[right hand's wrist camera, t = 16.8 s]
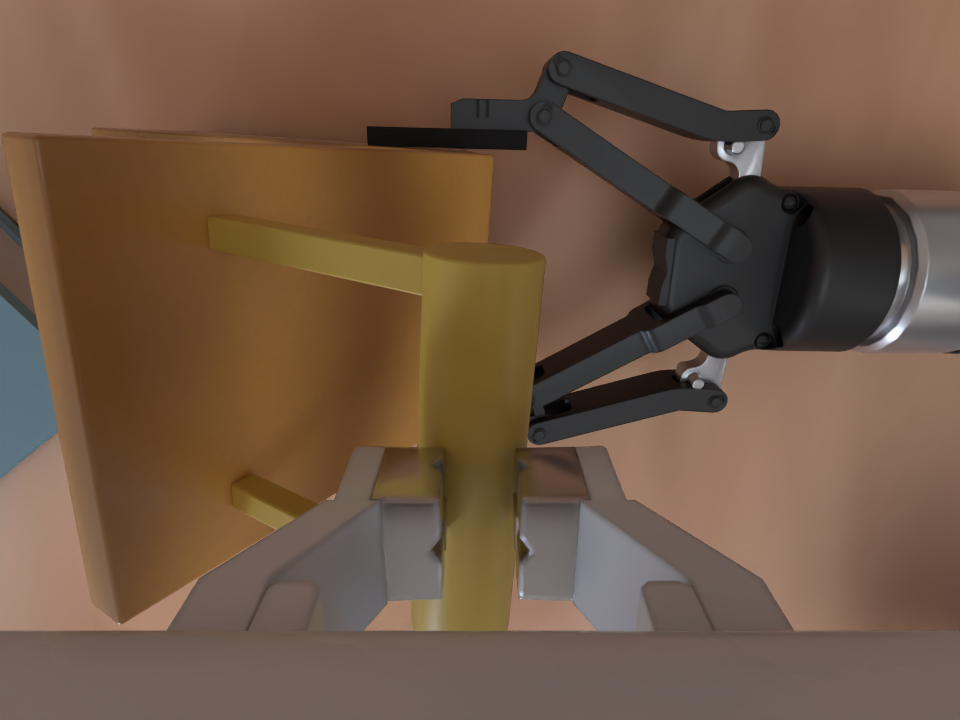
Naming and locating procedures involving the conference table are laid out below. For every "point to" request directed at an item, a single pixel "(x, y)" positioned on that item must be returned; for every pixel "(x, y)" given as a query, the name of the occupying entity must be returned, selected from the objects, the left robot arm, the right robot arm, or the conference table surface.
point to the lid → (273, 347)
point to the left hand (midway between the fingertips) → (377, 262)
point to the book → (20, 359)
